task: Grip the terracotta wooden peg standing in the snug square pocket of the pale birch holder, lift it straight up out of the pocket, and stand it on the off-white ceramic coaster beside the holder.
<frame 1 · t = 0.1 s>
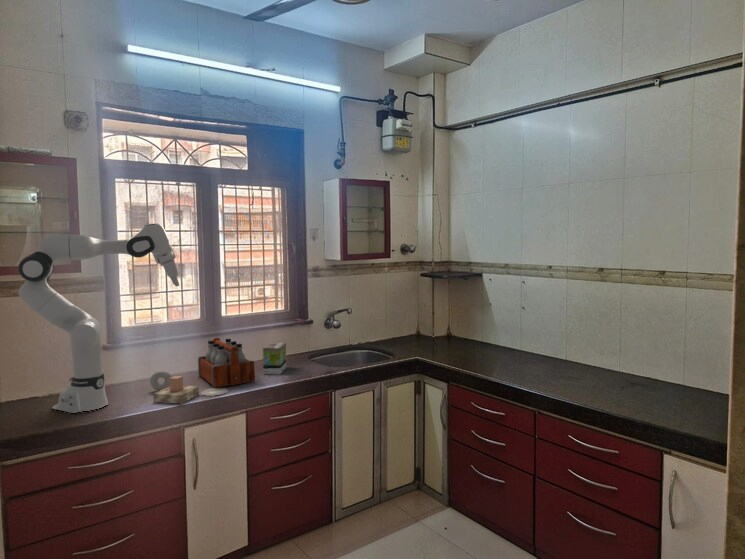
hand: (176, 285, 232), 52 cm above the table, tool tilted 20°, fingers open, 8 cm apart
coaster: (214, 392, 240), on the table
tea box: (275, 371, 278), on the table
milk bottle holder: (226, 379, 263), on the table, touching coaster
holder: (177, 398, 231), on the table
peg: (176, 387, 231), in the holder
donut: (161, 391, 243), on the table
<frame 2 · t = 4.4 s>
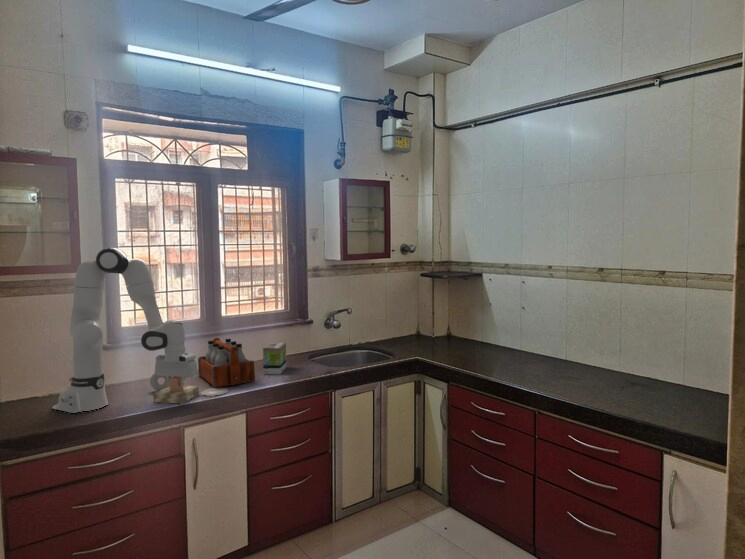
hand: (176, 385, 230), 6 cm above the table, tool pointing down, fingers closed on peg, 4 cm apart
peg: (176, 387, 231), in the holder, touching gripper
everything else where it was.
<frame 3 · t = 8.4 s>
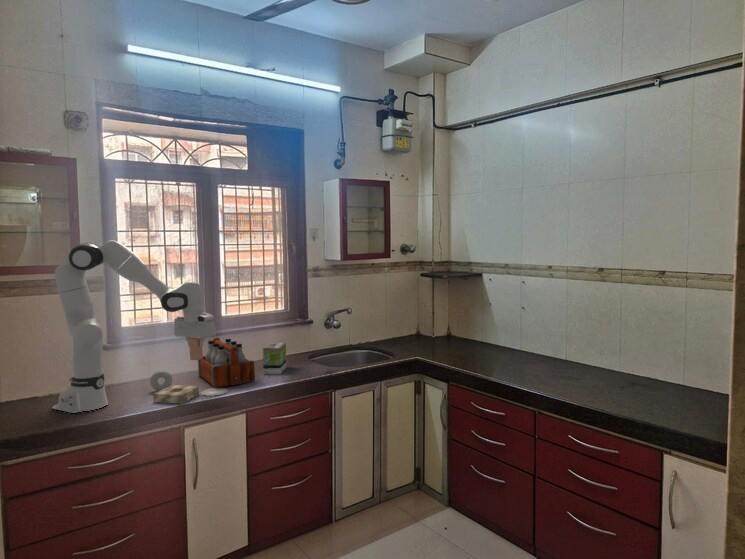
hand: (195, 346, 233), 23 cm above the table, tool pointing down, fingers closed on peg, 4 cm apart
peg: (195, 348, 234), point 22 cm above the table, touching gripper
everything else where it was.
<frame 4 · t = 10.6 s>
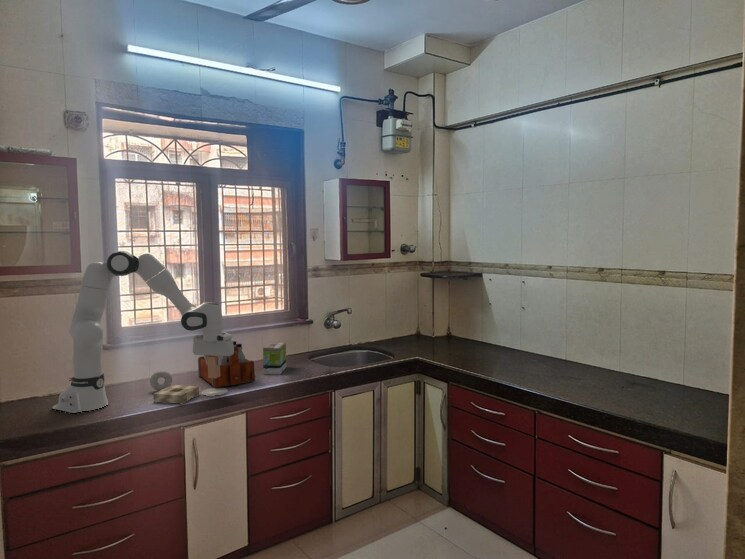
hand: (213, 364, 239), 14 cm above the table, tool pointing down, fingers closed on peg, 4 cm apart
peg: (213, 366, 239), point 13 cm above the table, touching gripper
everything else where it was.
when the fingers open (8 cm above the table, at t = 12.4 s): peg drops 1 cm, resting on coaster.
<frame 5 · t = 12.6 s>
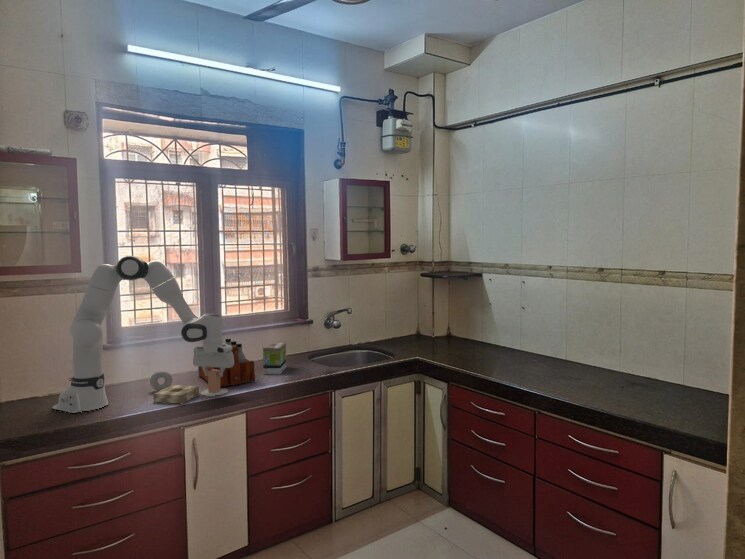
hand: (213, 375, 239), 8 cm above the table, tool pointing down, fingers open, 6 cm apart
peg: (214, 380, 239), on the coaster, point 6 cm above the table
everything else where it was.
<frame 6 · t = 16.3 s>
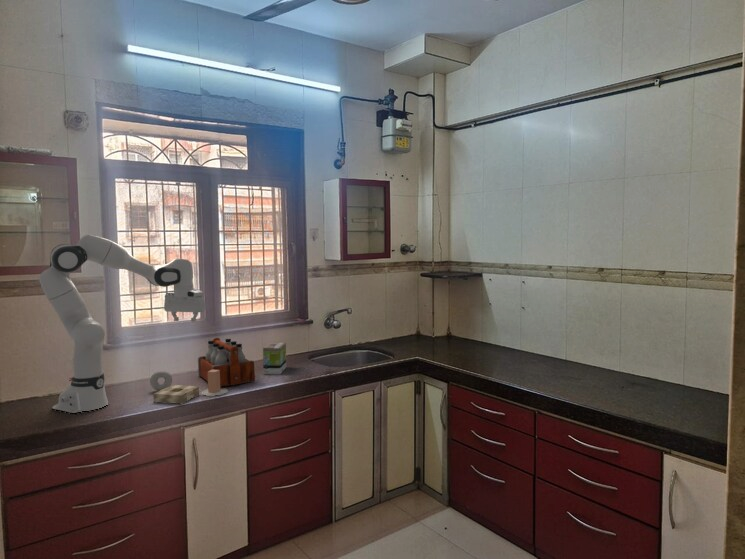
hand: (185, 321, 239), 34 cm above the table, tool pointing down, fingers open, 8 cm apart
nothing on the table moved.
at the end: peg 0.1 cm off-centre on the coaster, point 5.6 cm above the coaster's base; peg tilted 0°; the gripper is holding nothing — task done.
